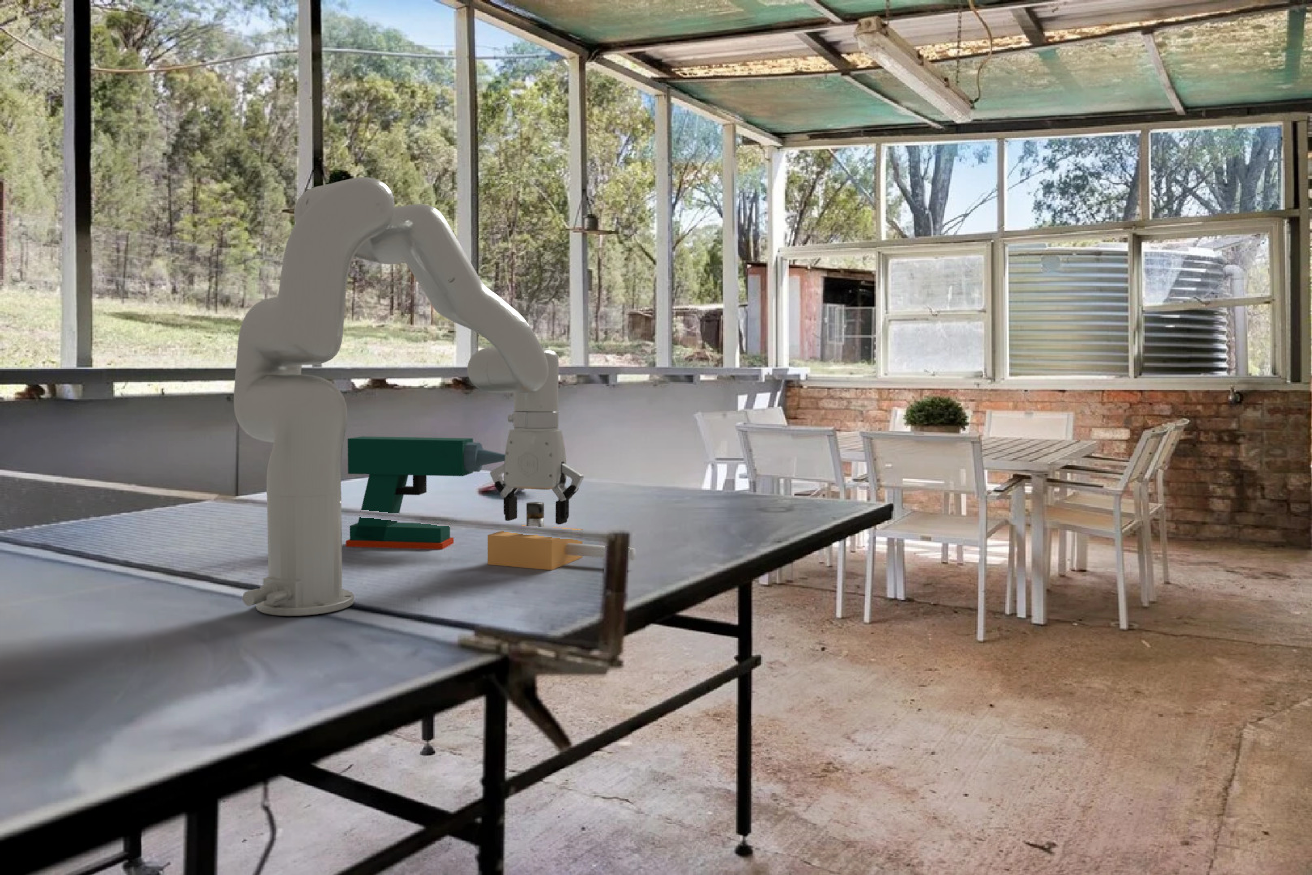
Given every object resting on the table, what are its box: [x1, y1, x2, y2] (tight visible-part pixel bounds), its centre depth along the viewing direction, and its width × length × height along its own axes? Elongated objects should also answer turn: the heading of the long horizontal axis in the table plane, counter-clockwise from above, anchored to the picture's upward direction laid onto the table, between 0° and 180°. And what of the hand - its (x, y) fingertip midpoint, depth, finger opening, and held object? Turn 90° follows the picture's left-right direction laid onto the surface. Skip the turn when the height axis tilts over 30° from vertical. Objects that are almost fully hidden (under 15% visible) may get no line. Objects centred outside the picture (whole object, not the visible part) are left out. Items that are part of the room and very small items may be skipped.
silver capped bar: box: [525, 501, 545, 527], centre depth 165 cm, size 3×3×10 cm
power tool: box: [345, 435, 505, 550], centre depth 178 cm, size 32×7×20 cm, turn 84°
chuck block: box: [487, 524, 636, 571], centre depth 163 cm, size 12×24×5 cm, turn 70°
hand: (536, 521), depth 165 cm, fingers open, 9 cm apart
